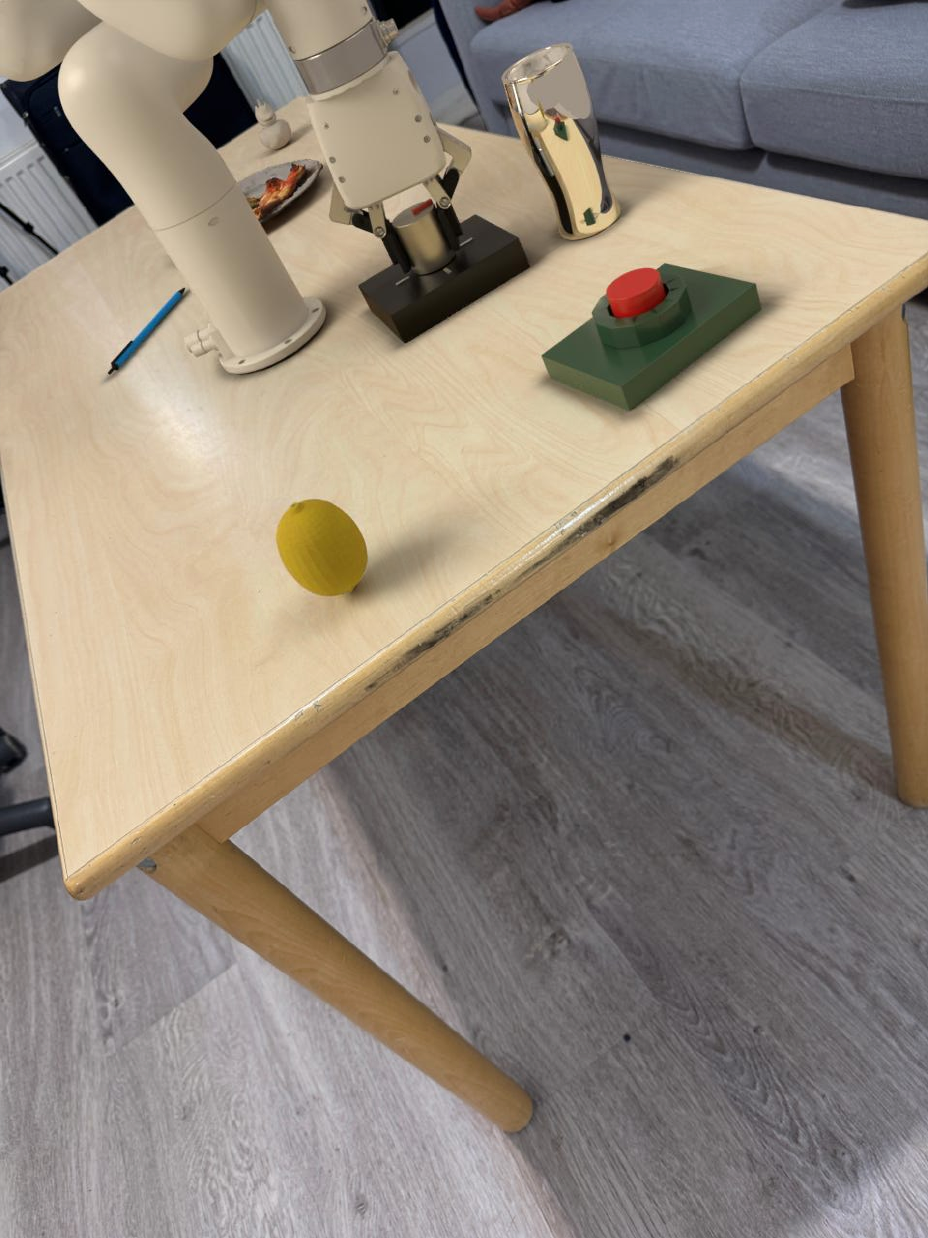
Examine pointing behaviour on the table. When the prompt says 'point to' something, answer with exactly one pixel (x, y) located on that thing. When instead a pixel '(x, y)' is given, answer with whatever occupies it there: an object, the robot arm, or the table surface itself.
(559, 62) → the beer glass
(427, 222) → the knob
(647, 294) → the button
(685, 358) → the switchbox
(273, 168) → the food plate
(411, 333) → the panel
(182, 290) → the pen
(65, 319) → the table surface
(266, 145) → the rubber duck
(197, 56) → the robot arm
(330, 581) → the lemon
